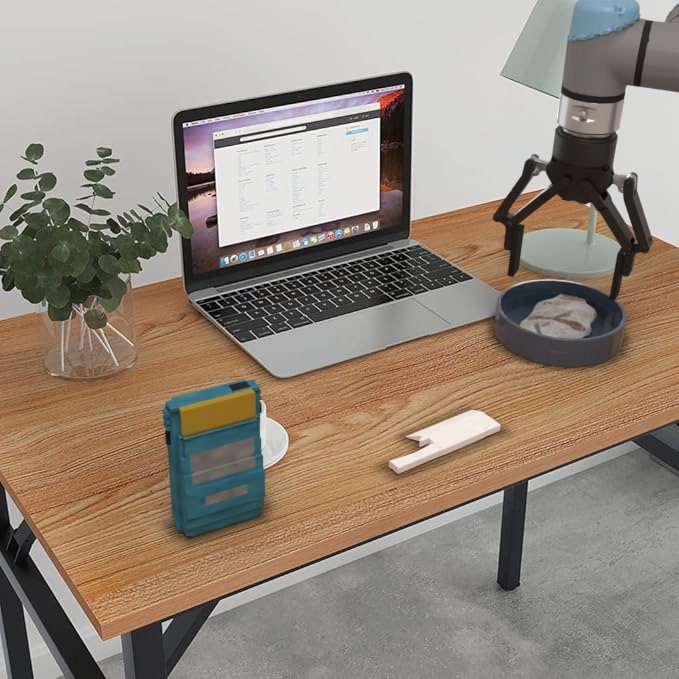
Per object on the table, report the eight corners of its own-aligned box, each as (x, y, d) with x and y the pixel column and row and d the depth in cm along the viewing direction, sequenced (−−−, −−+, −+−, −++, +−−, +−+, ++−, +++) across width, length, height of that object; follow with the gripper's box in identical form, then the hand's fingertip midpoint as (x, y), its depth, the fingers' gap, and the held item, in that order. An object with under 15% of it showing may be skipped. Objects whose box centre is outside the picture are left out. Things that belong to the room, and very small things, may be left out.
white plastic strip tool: (370, 451, 119) (370, 443, 119) (472, 411, 127) (472, 403, 126) (397, 474, 116) (398, 465, 115) (500, 431, 123) (501, 423, 123)
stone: (581, 360, 137) (585, 338, 136) (512, 344, 140) (515, 322, 138) (599, 319, 147) (603, 298, 145) (534, 305, 150) (537, 285, 148)
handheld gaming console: (255, 495, 112) (253, 374, 105) (272, 517, 109) (270, 395, 102) (167, 521, 108) (158, 398, 101) (182, 546, 105) (174, 420, 98)
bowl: (633, 321, 147) (638, 295, 145) (605, 379, 134) (609, 352, 132) (515, 294, 153) (518, 269, 151) (476, 347, 140) (479, 321, 138)
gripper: (479, 119, 131) (463, 274, 141) (686, 156, 122) (652, 318, 132) (498, 103, 137) (481, 252, 147) (697, 137, 128) (664, 293, 138)
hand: (562, 284), depth 140 cm, fingers open, 13 cm apart
